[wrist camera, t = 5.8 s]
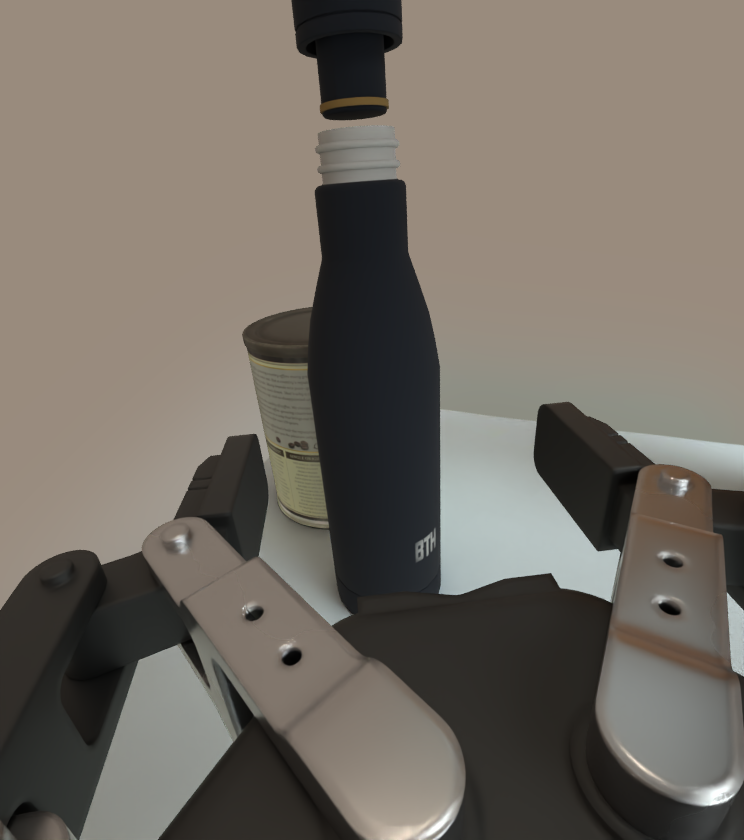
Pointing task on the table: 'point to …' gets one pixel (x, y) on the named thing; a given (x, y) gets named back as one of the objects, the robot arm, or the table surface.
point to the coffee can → (288, 412)
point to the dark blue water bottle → (369, 321)
